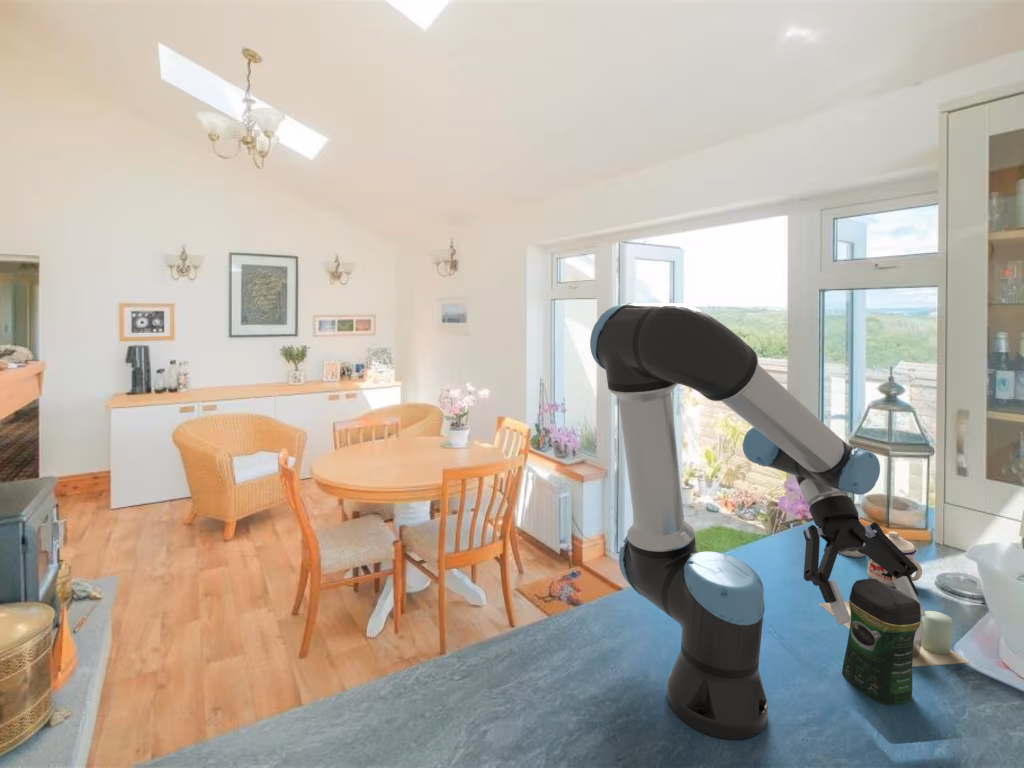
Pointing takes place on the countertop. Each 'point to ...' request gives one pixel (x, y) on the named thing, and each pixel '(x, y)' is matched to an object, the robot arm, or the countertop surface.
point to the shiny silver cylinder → (918, 640)
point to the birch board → (925, 656)
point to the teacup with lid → (887, 578)
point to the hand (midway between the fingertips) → (882, 620)
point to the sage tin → (936, 632)
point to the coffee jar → (881, 641)
